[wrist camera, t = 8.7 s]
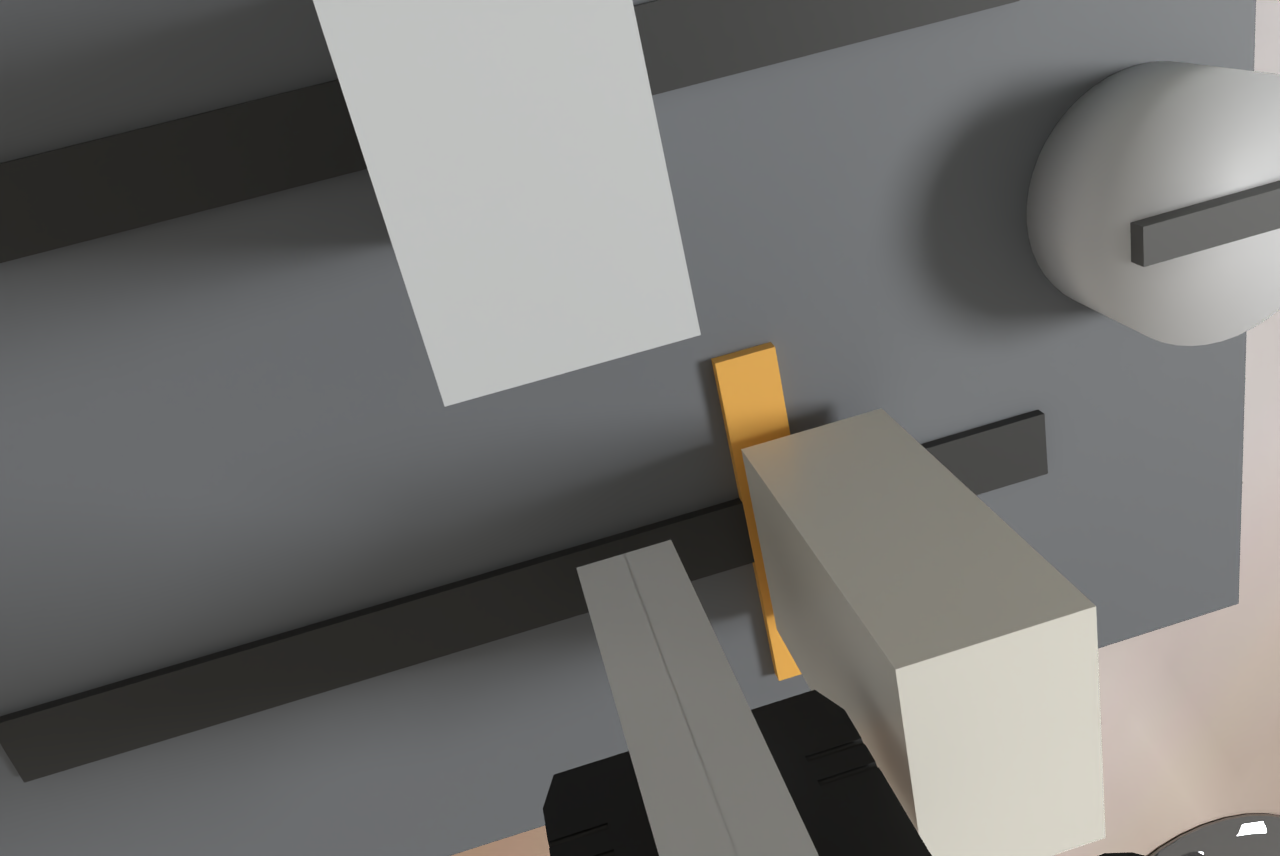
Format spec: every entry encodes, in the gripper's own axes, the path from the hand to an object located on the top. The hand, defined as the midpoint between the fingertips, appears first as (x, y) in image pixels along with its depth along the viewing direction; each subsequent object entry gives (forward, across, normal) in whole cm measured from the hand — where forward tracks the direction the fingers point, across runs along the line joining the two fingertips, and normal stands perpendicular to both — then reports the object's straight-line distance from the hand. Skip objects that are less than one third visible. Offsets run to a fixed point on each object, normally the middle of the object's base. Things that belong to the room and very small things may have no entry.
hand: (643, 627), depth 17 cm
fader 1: (+1, 0, +8) cm, 8 cm away
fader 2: (+1, +3, 0) cm, 4 cm away
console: (+4, -1, +4) cm, 6 cm away
